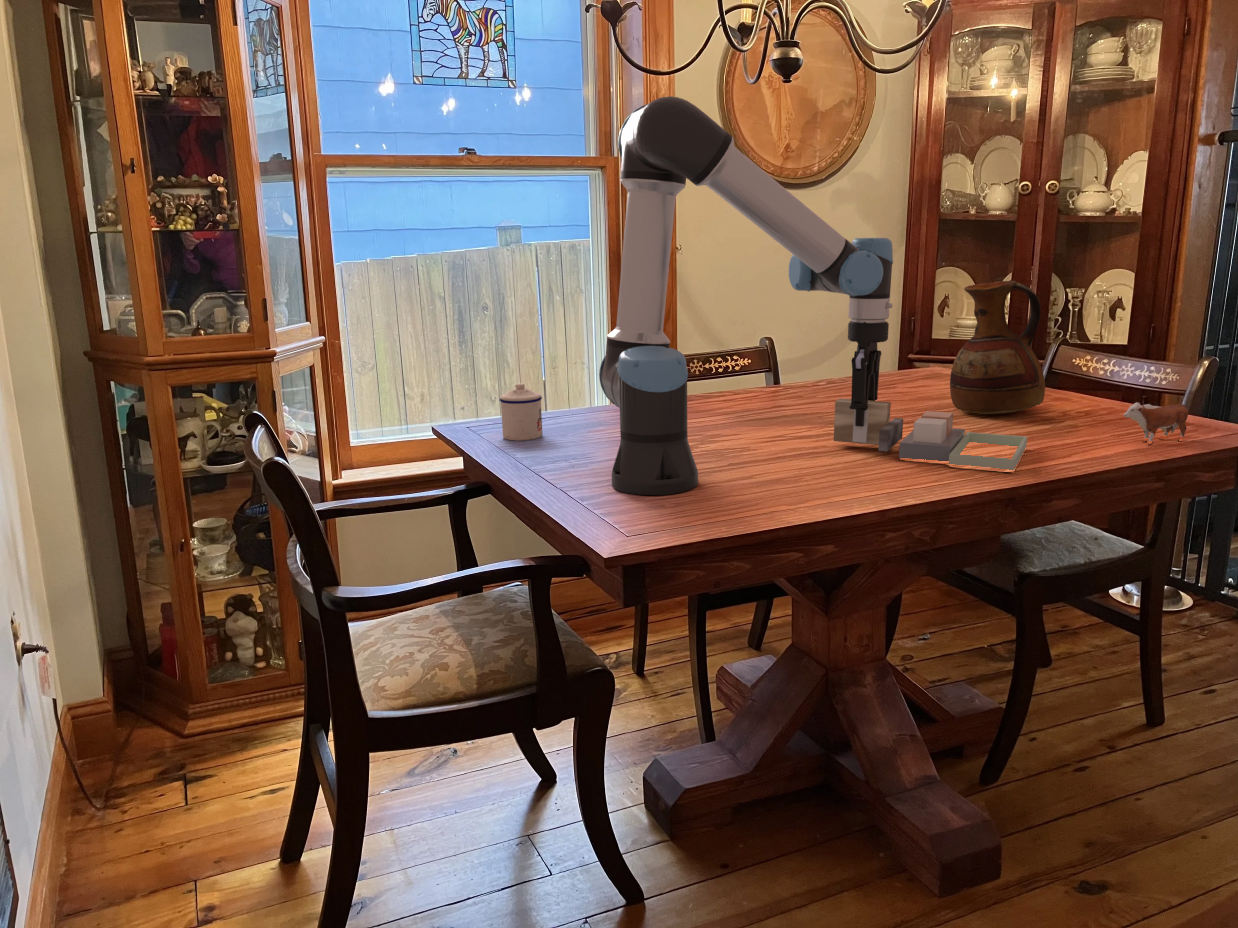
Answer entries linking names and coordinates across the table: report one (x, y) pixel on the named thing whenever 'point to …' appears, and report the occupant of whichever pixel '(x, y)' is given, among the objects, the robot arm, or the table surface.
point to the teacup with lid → (521, 414)
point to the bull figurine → (1158, 418)
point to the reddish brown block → (941, 415)
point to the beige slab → (878, 424)
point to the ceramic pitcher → (997, 357)
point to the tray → (988, 461)
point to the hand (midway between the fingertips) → (862, 439)
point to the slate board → (930, 447)
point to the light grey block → (929, 430)
